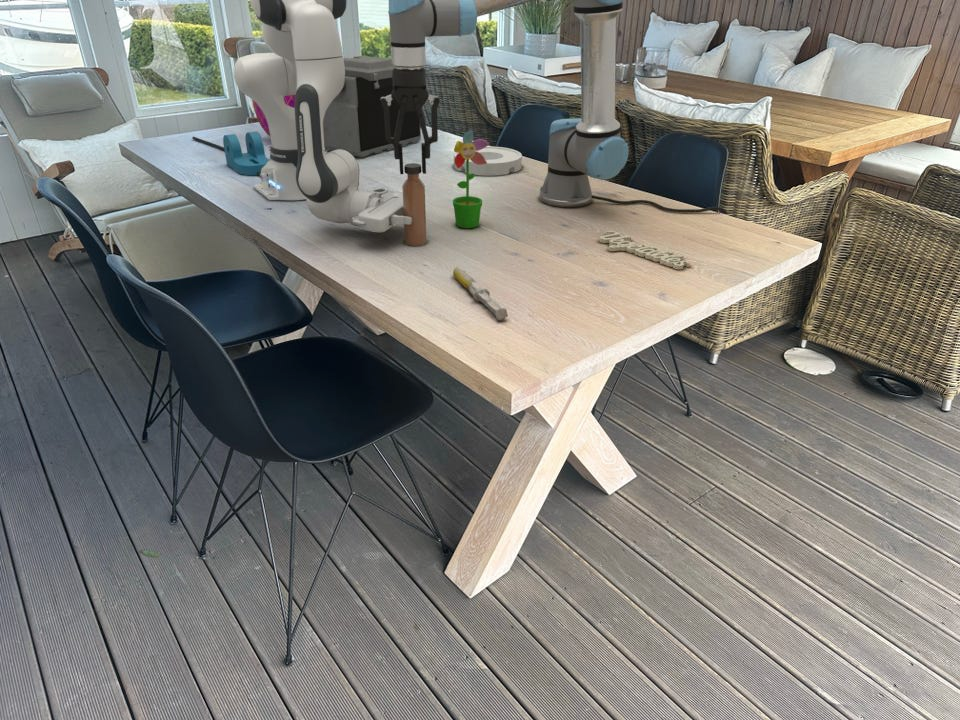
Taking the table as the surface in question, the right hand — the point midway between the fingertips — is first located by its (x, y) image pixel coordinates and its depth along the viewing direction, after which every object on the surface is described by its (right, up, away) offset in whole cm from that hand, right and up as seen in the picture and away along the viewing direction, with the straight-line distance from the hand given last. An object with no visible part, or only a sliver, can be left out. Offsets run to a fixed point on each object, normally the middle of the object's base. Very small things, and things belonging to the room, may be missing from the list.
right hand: (412, 172), depth 164 cm
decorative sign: (+55, -19, +4) cm, 58 cm away
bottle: (0, -15, +9) cm, 18 cm away
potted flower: (+13, -9, +20) cm, 25 cm away
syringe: (+16, -32, -19) cm, 40 cm away
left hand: (+1, -9, +5) cm, 11 cm away
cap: (0, +1, -1) cm, 1 cm away
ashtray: (+19, +21, +71) cm, 76 cm away
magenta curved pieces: (-60, +40, +101) cm, 124 cm away
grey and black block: (-25, +36, +95) cm, 104 cm away
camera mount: (-60, +19, +66) cm, 91 cm away
